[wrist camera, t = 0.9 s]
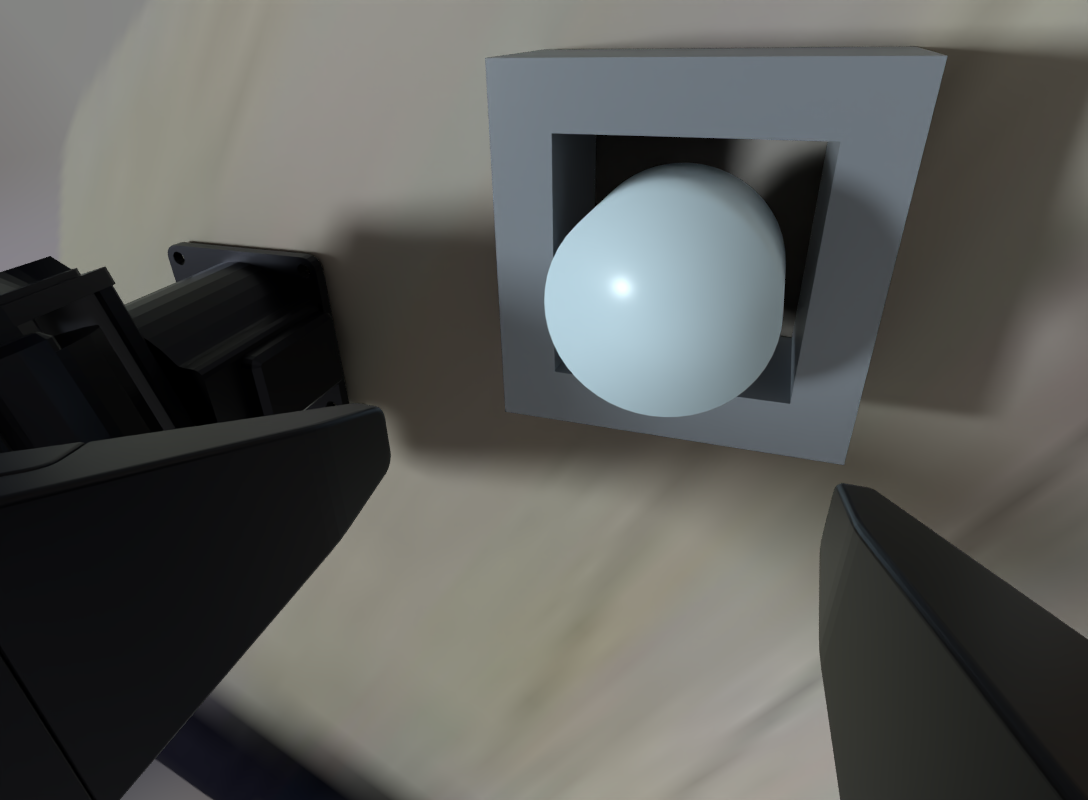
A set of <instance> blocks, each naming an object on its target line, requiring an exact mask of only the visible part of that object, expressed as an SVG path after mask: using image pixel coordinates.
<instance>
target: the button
mask: <svg viewBox="0 0 1088 800" xmlns="http://www.w3.org/2000/svg"><path fill="white" fill-rule="evenodd" d="M785 271H786V254H785V245H784V240H783V236H782V233H781V230H780V227H779V224H778V222H777V220H776V218H775V216H774V214H773V212H772V210H771V209H770V208H769V206H768V205H767V204H766V202H765V201H764V199H763V198H762V197H761V196H760V195H759V194H758V193H757V192H756V191H755V190H754V189H753V188H752V187H750V186H749V185H748V184H746V183H745V182H744V181H743V180H741V179H739V178H738V177H736V176H734V175H732V174H731V173H728V172H726V171H723V170H721V169H718V168H716V167H712V166H708V165H704V164H696V163H671V164H665V165H659V166H656V167H653V168H649V169H646V170H644V171H642V172H640V173H637V174H635V175H633V176H632V177H630V178H629V179H627V180H625V181H624V182H622V183H621V184H620V185H619V186H617V187H616V188H615V189H614V190H613V191H612V192H611V193H609V194H608V195H607V196H606V197H605V198H604V199H603V200H602V201H601V202H600V203H599V204H598V205H597V206H596V207H595V208H594V209H593V210H592V211H591V212H589V213H588V214H587V215H586V216H585V217H584V218H583V219H582V220H581V221H580V222H579V223H578V224H577V225H576V226H575V227H574V228H573V229H572V230H571V231H570V233H569V234H568V235H567V236H566V237H565V239H564V240H563V242H562V243H561V245H560V246H559V248H558V250H557V252H556V254H555V256H554V258H553V260H552V262H551V265H550V268H549V271H548V274H547V280H546V285H545V297H544V305H545V317H546V321H547V326H548V330H549V333H550V336H551V339H552V341H553V344H554V346H555V348H556V350H557V352H558V354H559V356H560V357H561V359H562V360H563V362H564V363H565V365H566V366H567V368H568V369H569V370H570V371H571V372H572V374H573V375H574V376H575V377H576V378H577V379H578V380H579V381H580V382H581V383H582V384H583V385H584V386H585V387H587V388H588V389H589V390H591V391H592V392H593V393H595V394H596V395H597V396H599V397H601V398H602V399H604V400H606V401H607V402H609V403H611V404H613V405H616V406H618V407H620V408H622V409H625V410H628V411H631V412H634V413H639V414H643V415H648V416H657V417H681V416H688V415H694V414H698V413H702V412H706V411H709V410H711V409H714V408H716V407H719V406H721V405H723V404H725V403H727V402H729V401H730V400H732V399H734V398H735V397H737V396H738V395H739V394H741V393H742V392H743V391H745V390H746V389H747V388H748V387H749V386H750V385H751V384H752V383H753V382H754V381H755V380H756V379H757V378H758V377H759V375H760V374H761V373H762V372H763V370H764V369H765V368H766V366H767V364H768V363H769V361H770V359H771V357H772V356H773V353H774V351H775V348H776V346H777V344H778V340H779V336H780V332H781V328H782V320H783V307H784V289H785Z"/></svg>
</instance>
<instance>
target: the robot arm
mask: <svg viewBox="0 0 1088 800" xmlns="http://www.w3.org/2000/svg"><path fill="white" fill-rule="evenodd" d="M182 255H183V256H182ZM168 257H169V261H170V264H171V267H172V270H173V273H174V277H175V280H176V283H174V284H171V285H169V286H167V287H164V288H162V289H160V290H158V291H155V292H153V293H151V294H148V295H146V296H144V297H141V298H139V299H137V300H134V301H132V302H130V303H127V304H125V305H124V304H123V302H122V300H121V299H120V297H119V295H118V294H117V292H116V290H115V289H114V287H113V285H114V284H115V282H114V280H113V279H112V277H111V275H110V273H109V272H108V270H107V268H106V267H102V268H99V269H96V270H93V271H90V272H87V273H84V274H80V273H79V271H78V269H77V268H75V269H70V268H68V267H67V266H65V265H63V264H62V263H60V262H59V261H57V260H55V259H54V258H52V257H51V256H49V257H46V258H43V259H40V260H37V261H34V262H31V263H28V264H25V265H22V266H19V267H15V268H12V269H9V270H6V271H3V272H0V800H120V799H121V798H122V797H123V795H124V794H125V793H126V792H127V791H128V790H129V788H130V787H131V786H132V785H133V784H134V782H136V780H137V779H138V778H139V777H140V776H141V774H142V773H143V772H144V771H145V769H146V768H147V767H148V766H149V765H150V764H151V763H152V762H153V760H154V759H155V758H156V757H157V756H158V755H159V753H160V752H161V751H162V750H163V749H164V747H165V746H166V745H167V744H168V743H169V742H170V740H171V739H172V738H173V737H174V736H175V735H176V733H177V732H178V731H179V730H180V729H181V728H182V726H183V725H184V724H185V723H186V722H187V720H188V719H189V718H190V717H191V716H192V715H193V713H194V712H195V711H196V710H197V709H198V708H199V706H200V705H201V704H202V703H203V702H204V700H205V699H206V698H207V697H208V696H209V695H210V693H211V692H212V691H213V690H214V689H215V688H216V686H217V685H218V684H219V683H220V682H221V681H222V679H223V678H224V677H225V676H226V675H227V673H228V672H229V671H230V670H231V669H232V668H233V666H234V665H235V664H236V663H237V662H238V661H239V659H240V658H241V657H242V656H243V655H244V654H245V652H246V651H247V650H248V649H249V648H250V646H251V645H252V644H253V643H254V642H255V641H256V639H257V638H258V637H259V636H260V635H261V634H262V632H263V631H264V630H265V629H266V628H267V627H268V625H269V624H270V623H271V622H272V621H273V619H274V618H275V617H276V616H277V615H278V614H279V612H280V611H281V610H282V609H283V608H284V607H285V605H286V604H287V603H288V602H289V601H290V600H291V598H292V597H293V596H294V595H295V594H296V592H297V591H298V590H299V589H300V588H301V587H302V585H303V584H304V583H305V582H306V581H307V580H308V578H309V577H310V576H311V575H312V574H313V573H314V571H315V570H316V569H317V568H318V567H319V565H320V564H321V563H322V562H323V561H324V560H325V558H326V557H327V556H328V555H329V554H330V553H331V551H332V550H333V549H334V548H335V546H336V545H337V544H338V543H339V541H340V540H341V539H342V537H343V536H344V534H345V533H346V532H347V530H348V529H349V528H350V526H351V525H352V523H353V522H354V520H355V519H356V517H357V516H358V514H359V513H360V511H361V510H362V508H363V507H364V505H365V504H366V502H367V501H368V499H369V498H370V496H371V495H372V493H373V492H374V490H375V489H376V487H377V486H378V484H379V483H380V481H381V480H382V478H383V477H384V476H385V474H386V472H387V470H388V468H389V464H390V458H391V454H390V446H389V440H388V434H387V428H386V421H385V416H384V413H383V411H382V410H381V409H380V408H379V407H377V406H373V405H366V404H360V403H351V404H349V401H348V396H347V391H346V386H345V381H344V375H343V370H342V364H341V359H340V354H339V349H338V344H337V338H336V333H335V328H334V323H333V318H332V313H331V308H330V303H329V298H328V292H327V287H326V282H325V277H324V272H323V268H322V265H321V263H320V261H319V260H318V259H317V258H316V257H314V256H313V255H310V254H304V253H293V252H283V251H272V250H261V249H251V248H240V247H229V246H219V245H208V244H197V243H187V242H181V243H178V244H175V245H172V246H171V247H170V248H169V249H168ZM183 257H184V258H183ZM305 265H306V266H307V267H308V268H309V270H310V274H309V273H308V272H307V271H306V269H305ZM333 402H334V403H335V404H336V405H337V406H335V405H334V404H333ZM819 650H820V661H821V670H822V677H823V684H824V691H825V697H826V704H827V711H828V718H829V725H830V732H831V739H832V746H833V753H834V760H835V766H836V773H837V780H838V787H839V794H840V800H1088V639H1086V638H1085V637H1084V636H1082V635H1081V634H1079V633H1078V632H1076V631H1075V630H1074V629H1072V628H1071V627H1069V626H1068V625H1067V624H1065V623H1064V622H1062V621H1061V620H1059V619H1058V618H1057V617H1055V616H1054V615H1052V614H1051V613H1049V612H1048V611H1047V610H1045V609H1044V608H1042V607H1041V606H1039V605H1038V604H1037V603H1035V602H1034V601H1032V600H1031V599H1029V598H1028V597H1027V596H1025V595H1024V594H1022V593H1021V592H1019V591H1018V590H1017V589H1015V588H1014V587H1012V586H1011V585H1009V584H1008V583H1007V582H1005V581H1004V580H1002V579H1001V578H999V577H998V576H997V575H995V574H994V573H992V572H991V571H990V570H988V569H987V568H985V567H984V566H982V565H981V564H980V563H978V562H977V561H975V560H974V559H972V558H971V557H970V556H968V555H967V554H965V553H964V552H962V551H961V550H960V549H958V548H957V547H955V546H954V545H952V544H951V543H950V542H948V541H947V540H945V539H944V538H942V537H941V536H940V535H938V534H937V533H935V532H934V531H933V530H931V529H930V528H928V527H927V526H925V525H924V524H923V523H921V522H920V521H918V520H917V519H915V518H914V517H913V516H911V515H910V514H908V513H907V512H905V511H904V510H903V509H901V508H900V507H898V506H897V505H895V504H894V503H893V502H891V501H890V500H888V499H887V498H886V497H884V496H883V495H881V494H880V493H878V492H877V491H876V490H874V489H871V488H868V487H862V486H856V485H850V484H844V483H841V484H839V485H837V486H836V487H835V489H834V492H833V496H832V499H831V503H830V507H829V511H828V515H827V519H826V523H825V527H824V531H823V535H822V540H821V547H820V578H819Z"/></svg>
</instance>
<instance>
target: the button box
mask: <svg viewBox="0 0 1088 800" xmlns="http://www.w3.org/2000/svg"><path fill="white" fill-rule="evenodd" d="M946 60H947V55H944V54H940V53H937V52H933V51H930V50H926V49H923V48H919V47H916V46H910V47H793V48H677V49H561V50H537V51H530V52H523V53H516V54H509V55H502V56H495V57H488V58H485V63H486V81H487V98H488V116H489V133H490V151H491V169H492V186H493V204H494V221H495V239H496V257H497V274H498V292H499V309H500V327H501V345H502V362H503V380H504V397H505V412H511V413H518V414H524V415H530V416H537V417H543V418H549V419H556V420H562V421H568V422H575V423H581V424H587V425H594V426H600V427H606V428H613V429H619V430H625V431H632V432H638V433H644V434H651V435H657V436H663V437H670V438H676V439H682V440H689V441H695V442H702V443H708V444H714V445H721V446H727V447H733V448H740V449H746V450H752V451H759V452H765V453H771V454H778V455H784V456H790V457H797V458H803V459H809V460H816V461H822V462H828V463H835V464H841V465H844V463H845V459H846V455H847V451H848V447H849V443H850V439H851V435H852V431H853V427H854V423H855V419H856V416H857V412H858V408H859V404H860V400H861V396H862V392H863V388H864V384H865V380H866V376H867V372H868V368H869V364H870V360H871V356H872V352H873V348H874V344H875V340H876V337H877V333H878V329H879V325H880V321H881V317H882V313H883V309H884V305H885V301H886V297H887V293H888V289H889V285H890V281H891V277H892V273H893V269H894V265H895V261H896V258H897V254H898V250H899V246H900V242H901V238H902V234H903V230H904V226H905V222H906V218H907V214H908V210H909V206H910V202H911V198H912V194H913V190H914V186H915V182H916V179H917V175H918V171H919V167H920V163H921V159H922V155H923V151H924V147H925V143H926V139H927V135H928V131H929V127H930V123H931V119H932V115H933V111H934V107H935V103H936V100H937V96H938V92H939V88H940V84H941V80H942V76H943V72H944V68H945V64H946ZM596 135H630V136H664V137H698V138H733V139H767V140H802V141H828V143H827V149H826V154H825V160H824V165H823V170H822V176H821V181H820V187H819V192H818V198H817V203H816V209H815V214H814V220H813V225H812V230H811V236H810V241H809V247H808V252H807V258H806V263H805V269H804V274H803V280H802V285H801V290H800V296H799V301H798V307H797V312H796V318H795V323H794V329H793V334H792V338H790V337H781V336H779V340H778V344H777V346H776V348H775V351H774V353H773V356H772V357H771V359H770V361H769V363H768V364H767V366H766V368H765V369H764V370H763V372H762V373H761V374H760V375H759V377H758V378H757V379H756V380H755V381H754V382H753V383H752V384H751V385H750V386H749V387H748V388H747V389H746V390H745V391H743V392H742V393H741V394H739V395H738V396H737V397H735V398H734V399H732V400H730V401H729V402H727V403H725V404H723V405H721V406H719V407H716V408H714V409H711V410H709V411H706V412H702V413H698V414H694V415H688V416H681V417H657V416H648V415H643V414H639V413H634V412H631V411H628V410H625V409H622V408H620V407H618V406H616V405H613V404H611V403H609V402H607V401H606V400H604V399H602V398H601V397H599V396H597V395H596V394H595V393H593V392H592V391H591V390H589V389H588V388H587V387H585V386H584V385H583V384H582V383H581V382H580V381H579V380H578V379H577V378H576V377H575V376H574V375H573V374H572V372H571V371H570V370H569V369H568V368H567V366H566V365H565V363H564V362H563V360H562V359H561V357H560V356H559V354H558V352H557V350H556V348H555V346H554V344H553V341H552V339H551V336H550V333H549V330H548V326H547V321H546V317H545V305H544V297H545V285H546V280H547V274H548V271H549V268H550V265H551V262H552V260H553V258H554V256H555V254H556V252H557V250H558V248H559V246H560V245H561V243H562V242H563V240H564V239H565V237H566V236H567V235H568V234H569V233H570V231H571V230H572V229H573V228H574V227H575V226H576V225H577V224H578V223H579V222H580V221H581V220H582V219H583V218H584V217H585V216H586V215H587V214H588V213H589V212H591V211H592V210H593V209H594V208H595V172H596Z"/></svg>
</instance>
